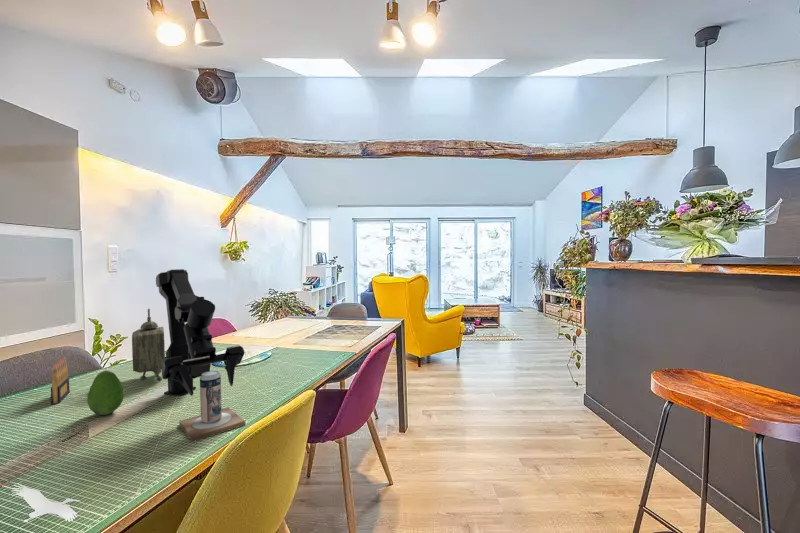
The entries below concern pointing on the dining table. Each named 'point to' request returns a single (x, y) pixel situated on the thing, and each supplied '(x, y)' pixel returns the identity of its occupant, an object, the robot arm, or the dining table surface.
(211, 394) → the beer can
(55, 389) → the ammunition clip
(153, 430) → the dining table surface
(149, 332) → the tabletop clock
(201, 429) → the plate
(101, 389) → the avocado
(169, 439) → the dining table surface
